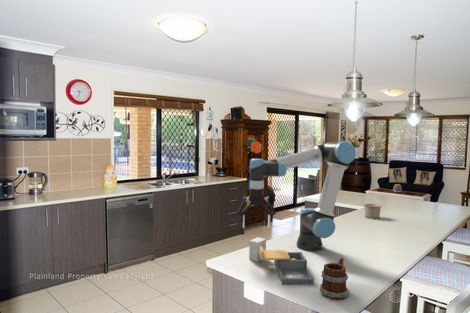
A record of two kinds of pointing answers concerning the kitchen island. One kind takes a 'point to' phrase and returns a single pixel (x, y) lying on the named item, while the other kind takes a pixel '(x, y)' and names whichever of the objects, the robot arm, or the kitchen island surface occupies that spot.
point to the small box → (256, 248)
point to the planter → (372, 210)
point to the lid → (273, 254)
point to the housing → (294, 270)
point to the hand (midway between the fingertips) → (256, 227)
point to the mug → (334, 281)
